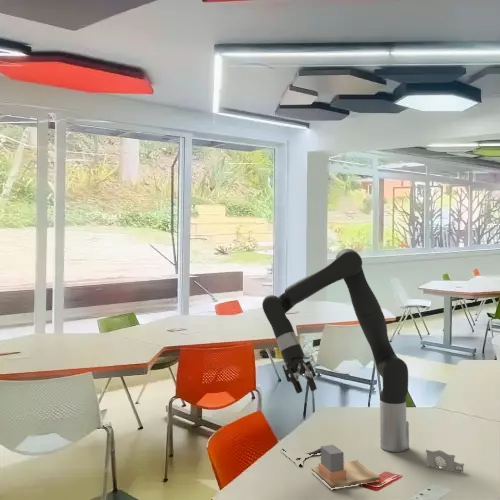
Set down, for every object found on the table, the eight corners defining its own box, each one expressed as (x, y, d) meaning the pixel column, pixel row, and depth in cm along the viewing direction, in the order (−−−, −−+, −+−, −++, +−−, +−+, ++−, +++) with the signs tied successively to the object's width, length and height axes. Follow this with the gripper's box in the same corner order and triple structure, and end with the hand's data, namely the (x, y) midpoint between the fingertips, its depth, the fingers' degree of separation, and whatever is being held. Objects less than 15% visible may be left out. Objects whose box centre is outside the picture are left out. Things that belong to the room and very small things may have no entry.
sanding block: (334, 468, 180) (333, 443, 180) (346, 478, 172) (345, 452, 172) (318, 470, 178) (318, 446, 178) (330, 480, 171) (329, 455, 171)
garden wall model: (464, 472, 179) (464, 454, 179) (463, 474, 178) (463, 456, 178) (427, 464, 186) (426, 447, 186) (425, 466, 184) (425, 448, 184)
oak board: (357, 464, 186) (357, 460, 186) (380, 482, 173) (380, 476, 173) (311, 472, 181) (311, 467, 181) (331, 490, 167) (331, 485, 167)
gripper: (285, 343, 189) (303, 389, 182) (309, 342, 200) (326, 385, 193) (270, 353, 193) (287, 397, 186) (294, 351, 204) (310, 393, 197)
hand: (307, 391), depth 190 cm, fingers open, 8 cm apart
